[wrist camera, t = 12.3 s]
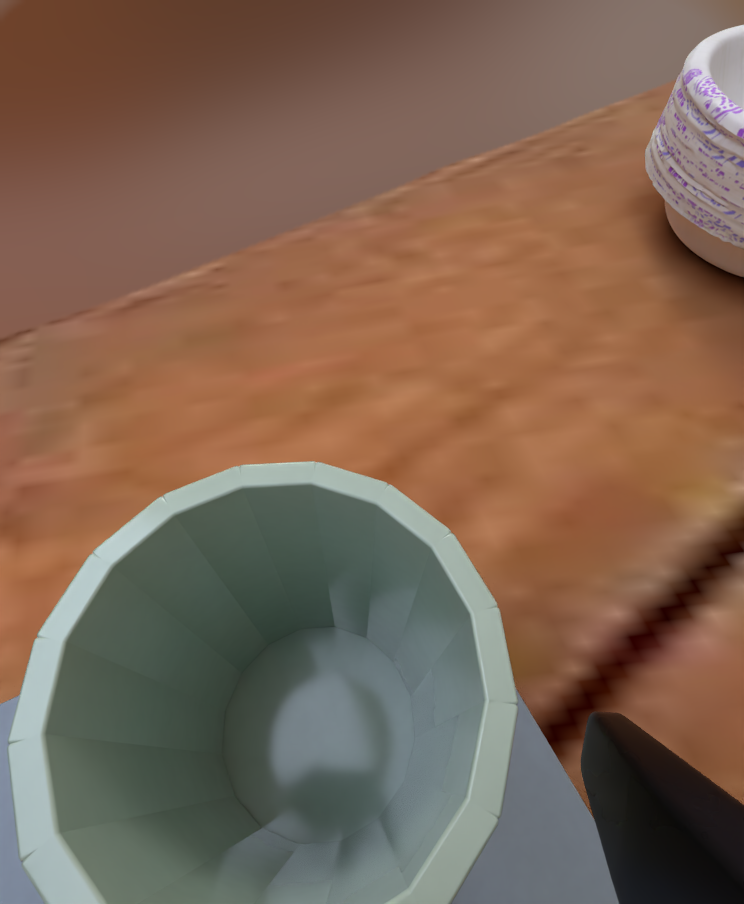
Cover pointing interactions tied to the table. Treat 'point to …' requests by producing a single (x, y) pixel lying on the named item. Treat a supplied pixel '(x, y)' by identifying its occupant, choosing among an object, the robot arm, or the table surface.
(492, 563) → the table surface
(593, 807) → the robot arm
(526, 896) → the mat
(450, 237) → the table surface
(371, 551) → the cup
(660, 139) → the white and purple bowl
